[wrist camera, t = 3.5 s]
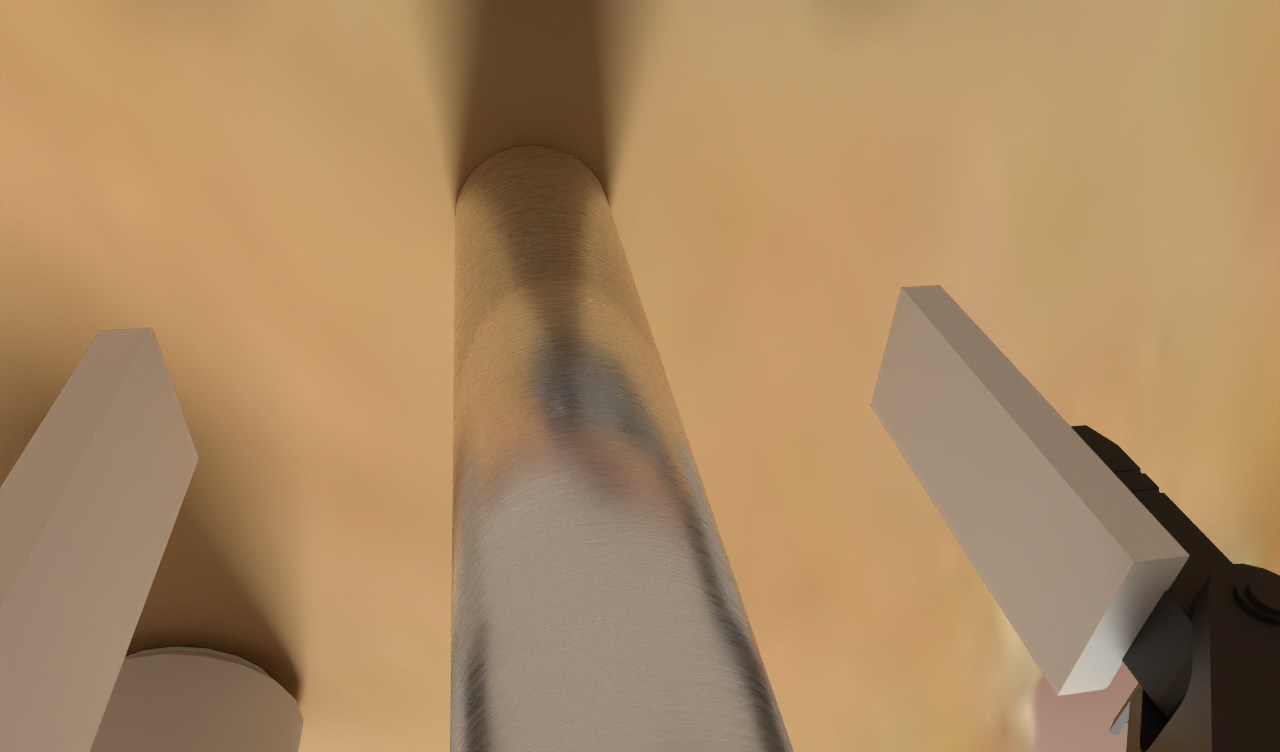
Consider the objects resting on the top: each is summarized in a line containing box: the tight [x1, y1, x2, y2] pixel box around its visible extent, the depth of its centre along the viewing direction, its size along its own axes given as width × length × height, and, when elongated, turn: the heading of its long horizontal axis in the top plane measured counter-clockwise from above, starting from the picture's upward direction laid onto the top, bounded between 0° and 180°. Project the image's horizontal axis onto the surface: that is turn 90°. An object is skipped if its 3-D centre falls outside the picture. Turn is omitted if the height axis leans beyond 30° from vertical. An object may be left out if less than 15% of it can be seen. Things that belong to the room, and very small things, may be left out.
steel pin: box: [450, 145, 793, 752], centre depth 13 cm, size 5×5×17 cm
